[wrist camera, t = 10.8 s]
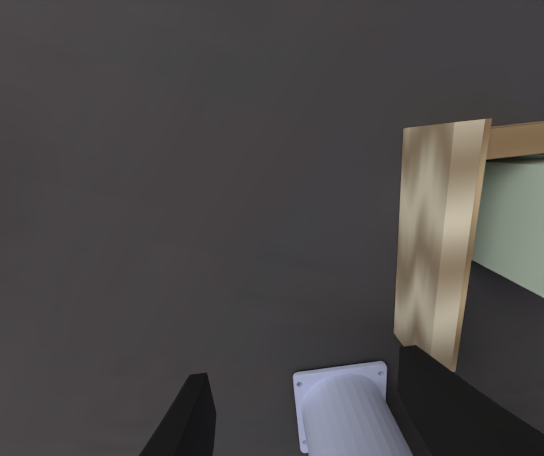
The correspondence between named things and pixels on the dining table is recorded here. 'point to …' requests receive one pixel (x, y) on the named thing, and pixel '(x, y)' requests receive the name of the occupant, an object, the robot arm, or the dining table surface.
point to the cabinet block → (513, 220)
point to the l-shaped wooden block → (445, 224)
